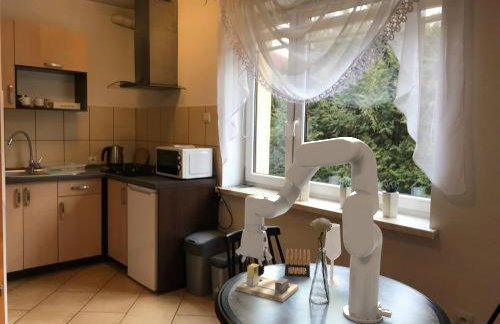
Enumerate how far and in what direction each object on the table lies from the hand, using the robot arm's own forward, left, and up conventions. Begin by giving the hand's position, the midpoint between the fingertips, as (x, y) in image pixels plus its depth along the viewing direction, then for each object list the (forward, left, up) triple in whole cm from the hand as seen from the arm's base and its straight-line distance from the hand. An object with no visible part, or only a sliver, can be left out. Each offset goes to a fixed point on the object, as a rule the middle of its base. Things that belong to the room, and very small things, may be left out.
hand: (253, 272), depth 152 cm
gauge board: (-5, -2, -6) cm, 8 cm away
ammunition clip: (-9, -22, -6) cm, 25 cm away
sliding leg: (0, -2, -4) cm, 5 cm away
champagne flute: (-24, -22, -6) cm, 33 cm away
